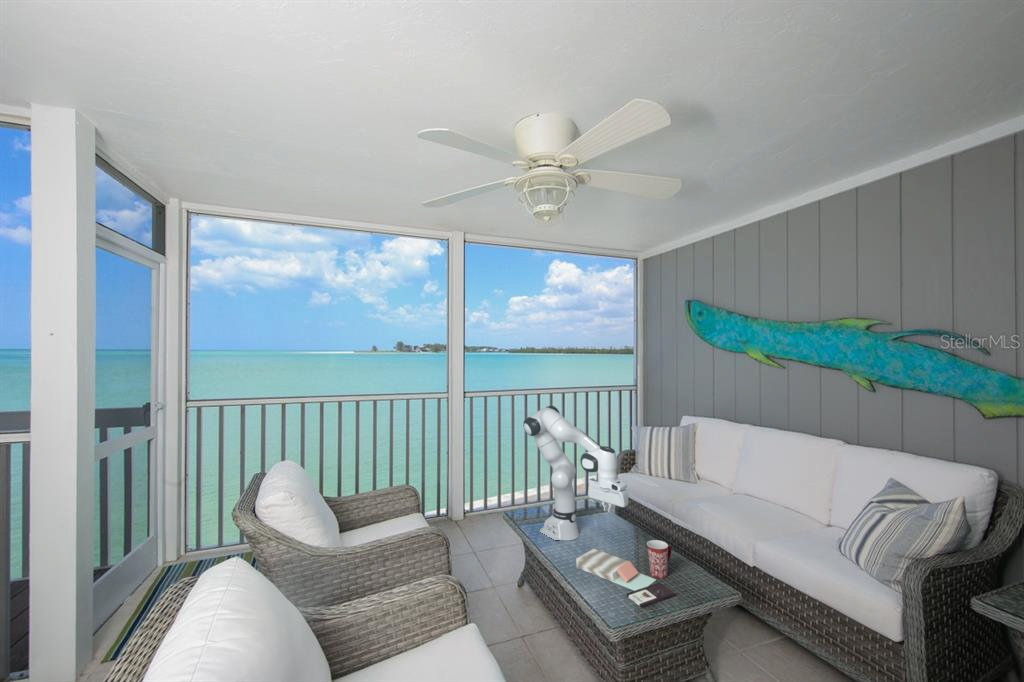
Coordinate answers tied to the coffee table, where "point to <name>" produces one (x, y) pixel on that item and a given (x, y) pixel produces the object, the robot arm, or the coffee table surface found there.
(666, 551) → the mug
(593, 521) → the coffee table surface
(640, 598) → the chocolate bar
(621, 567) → the salmon pink eraser
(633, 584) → the mat
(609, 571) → the striped beige block
